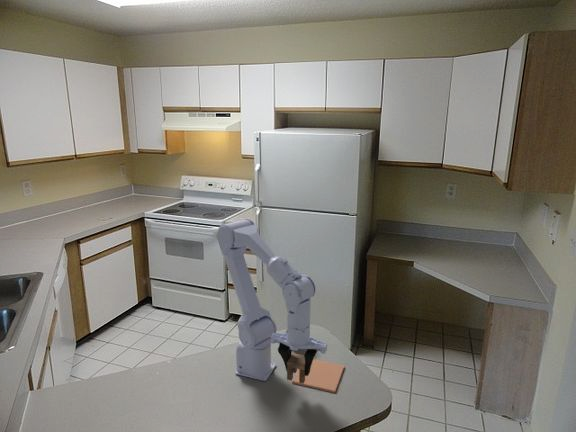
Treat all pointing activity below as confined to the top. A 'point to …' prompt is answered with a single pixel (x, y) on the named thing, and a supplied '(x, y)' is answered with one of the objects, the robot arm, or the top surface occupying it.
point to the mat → (322, 376)
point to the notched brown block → (296, 367)
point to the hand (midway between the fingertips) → (298, 371)
